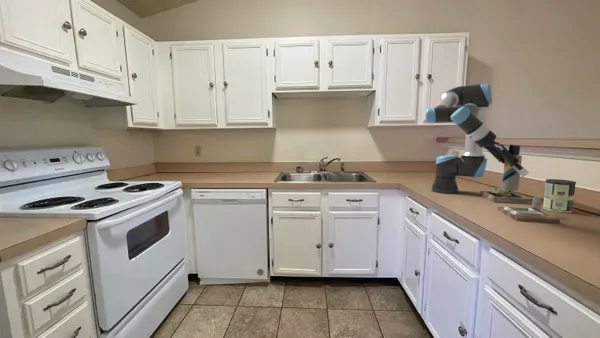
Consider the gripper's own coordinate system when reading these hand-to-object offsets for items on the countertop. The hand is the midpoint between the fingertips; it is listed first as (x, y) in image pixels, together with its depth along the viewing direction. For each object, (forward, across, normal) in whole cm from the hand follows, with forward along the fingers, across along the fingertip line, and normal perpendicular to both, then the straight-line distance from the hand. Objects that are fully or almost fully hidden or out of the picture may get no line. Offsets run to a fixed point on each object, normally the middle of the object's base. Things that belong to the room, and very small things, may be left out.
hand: (521, 173), depth 113 cm
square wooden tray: (+20, -34, -7) cm, 40 cm away
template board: (+16, 0, -11) cm, 19 cm away
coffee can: (+30, -16, +3) cm, 34 cm away
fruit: (+20, -35, -8) cm, 41 cm away
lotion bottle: (+3, 0, -8) cm, 8 cm away
